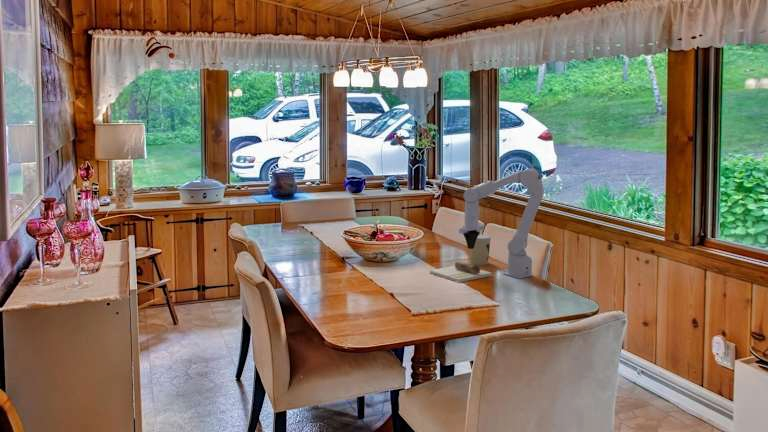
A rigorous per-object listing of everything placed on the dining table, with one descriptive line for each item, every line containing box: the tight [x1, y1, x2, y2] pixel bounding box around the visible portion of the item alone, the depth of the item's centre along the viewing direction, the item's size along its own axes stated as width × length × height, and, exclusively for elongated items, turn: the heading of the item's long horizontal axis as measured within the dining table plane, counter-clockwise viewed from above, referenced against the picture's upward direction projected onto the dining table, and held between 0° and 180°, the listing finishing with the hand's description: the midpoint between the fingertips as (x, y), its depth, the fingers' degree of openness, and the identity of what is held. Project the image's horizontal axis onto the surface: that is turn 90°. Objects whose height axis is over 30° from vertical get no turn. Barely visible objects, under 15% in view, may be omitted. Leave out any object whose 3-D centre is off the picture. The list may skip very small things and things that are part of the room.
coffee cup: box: [469, 234, 491, 266], centre depth 301 cm, size 9×9×12 cm
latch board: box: [428, 265, 492, 283], centre depth 282 cm, size 18×18×1 cm
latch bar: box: [454, 261, 481, 274], centre depth 282 cm, size 12×2×3 cm, turn 36°
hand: (470, 248), depth 288 cm, fingers closed
